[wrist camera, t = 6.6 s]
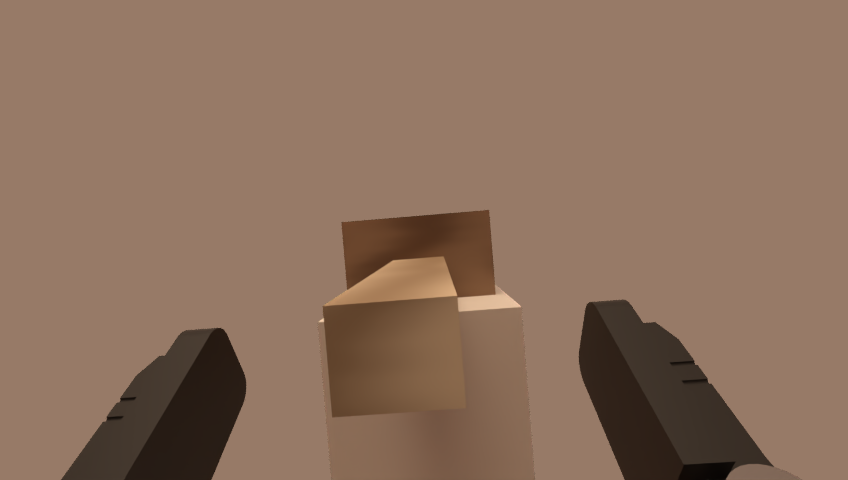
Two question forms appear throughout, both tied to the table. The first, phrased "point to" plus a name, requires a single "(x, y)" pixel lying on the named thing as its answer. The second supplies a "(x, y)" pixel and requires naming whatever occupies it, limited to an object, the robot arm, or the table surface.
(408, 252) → the mallet
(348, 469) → the stand
